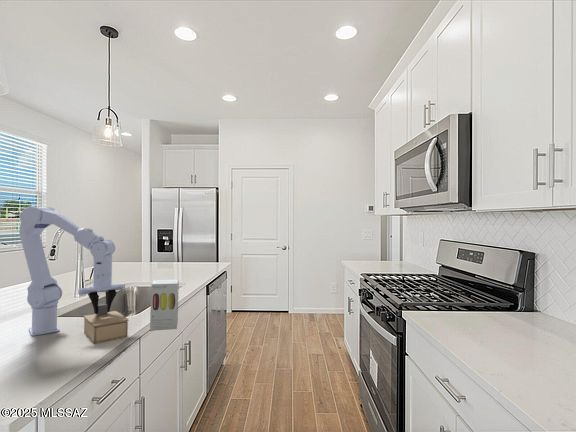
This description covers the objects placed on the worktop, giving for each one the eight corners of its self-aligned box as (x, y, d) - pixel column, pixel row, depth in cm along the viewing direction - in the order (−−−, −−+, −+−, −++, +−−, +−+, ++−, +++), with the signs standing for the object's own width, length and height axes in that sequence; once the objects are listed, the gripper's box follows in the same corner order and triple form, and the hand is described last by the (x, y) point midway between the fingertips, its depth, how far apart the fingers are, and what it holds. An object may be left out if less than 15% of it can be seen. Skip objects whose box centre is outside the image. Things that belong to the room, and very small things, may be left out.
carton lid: (83, 317, 117) (83, 305, 117) (115, 312, 124) (116, 301, 124) (93, 327, 106) (94, 314, 106) (128, 321, 113) (128, 308, 114)
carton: (84, 332, 117) (84, 318, 117) (115, 327, 124) (115, 313, 124) (94, 343, 107) (94, 328, 107) (127, 336, 113) (127, 321, 113)
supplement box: (149, 331, 119) (150, 283, 120) (152, 323, 128) (152, 279, 128) (177, 329, 122) (178, 282, 122) (178, 321, 131) (179, 278, 131)
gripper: (81, 277, 111) (80, 318, 111) (127, 273, 121) (127, 311, 121) (77, 275, 116) (76, 314, 116) (121, 271, 126) (121, 307, 126)
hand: (101, 312), depth 119 cm, fingers closed on carton lid, 3 cm apart
